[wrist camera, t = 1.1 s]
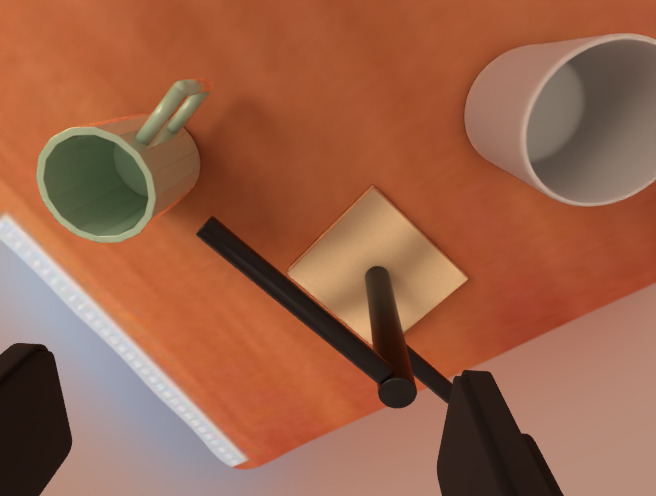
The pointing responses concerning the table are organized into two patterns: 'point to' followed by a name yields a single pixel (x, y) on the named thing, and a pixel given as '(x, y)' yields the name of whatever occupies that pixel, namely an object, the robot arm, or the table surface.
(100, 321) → the table surface
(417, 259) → the mug holder
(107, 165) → the small mug
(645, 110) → the mug
